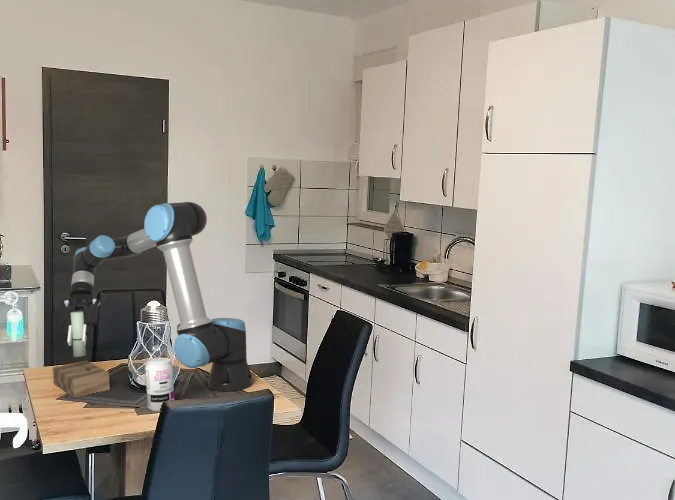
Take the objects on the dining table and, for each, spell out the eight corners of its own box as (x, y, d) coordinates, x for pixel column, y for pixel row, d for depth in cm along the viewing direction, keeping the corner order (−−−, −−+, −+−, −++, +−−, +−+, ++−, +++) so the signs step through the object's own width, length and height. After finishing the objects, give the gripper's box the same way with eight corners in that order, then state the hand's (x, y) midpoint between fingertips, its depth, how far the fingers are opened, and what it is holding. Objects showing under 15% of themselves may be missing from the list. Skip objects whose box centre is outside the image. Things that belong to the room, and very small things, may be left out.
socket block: (109, 389, 231) (108, 372, 231) (74, 398, 224) (73, 380, 223) (87, 376, 246) (86, 360, 246) (53, 383, 239) (52, 367, 238)
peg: (88, 355, 233) (85, 312, 231) (75, 357, 231) (72, 314, 229) (83, 352, 237) (80, 310, 235) (71, 355, 234) (68, 312, 232)
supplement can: (161, 401, 219) (158, 356, 217) (180, 405, 215) (177, 359, 213) (142, 409, 212) (139, 362, 210) (161, 413, 208) (158, 366, 206)
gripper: (108, 291, 248) (104, 347, 234) (59, 293, 244) (52, 350, 230) (105, 279, 242) (101, 336, 228) (54, 281, 239) (47, 339, 225)
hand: (76, 343), depth 229 cm, fingers closed on peg, 4 cm apart
